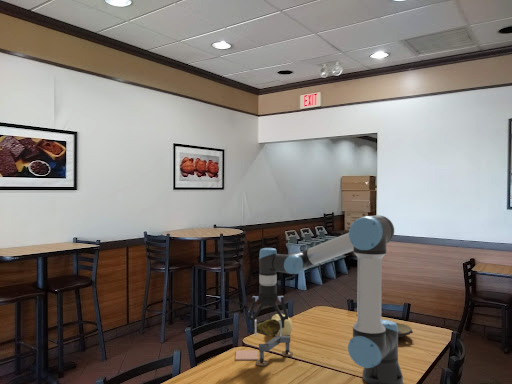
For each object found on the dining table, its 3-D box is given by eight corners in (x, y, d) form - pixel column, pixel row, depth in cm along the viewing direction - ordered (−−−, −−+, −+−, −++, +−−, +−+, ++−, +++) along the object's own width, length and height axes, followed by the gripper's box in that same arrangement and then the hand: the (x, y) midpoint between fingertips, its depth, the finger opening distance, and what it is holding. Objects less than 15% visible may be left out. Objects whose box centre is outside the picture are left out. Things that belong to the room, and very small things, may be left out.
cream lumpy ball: (269, 330, 221) (269, 310, 221) (292, 331, 220) (292, 311, 220) (268, 338, 209) (268, 316, 209) (292, 338, 208) (292, 317, 208)
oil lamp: (387, 347, 196) (386, 331, 196) (349, 329, 224) (349, 314, 224) (423, 341, 205) (423, 325, 205) (382, 324, 232) (382, 310, 233)
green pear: (270, 330, 187) (269, 312, 187) (283, 339, 175) (283, 320, 175) (253, 333, 183) (252, 315, 183) (265, 342, 172) (265, 323, 172)
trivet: (258, 360, 181) (258, 358, 181) (235, 360, 181) (235, 358, 181) (257, 351, 191) (257, 350, 191) (236, 351, 191) (236, 350, 191)
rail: (295, 354, 187) (295, 336, 187) (262, 367, 173) (262, 348, 173) (284, 350, 192) (284, 333, 192) (251, 362, 178) (251, 343, 178)
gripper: (293, 282, 183) (293, 332, 183) (242, 282, 183) (242, 332, 183) (295, 285, 175) (295, 338, 175) (241, 286, 175) (241, 338, 175)
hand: (268, 335), depth 179 cm, fingers closed on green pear, 10 cm apart
